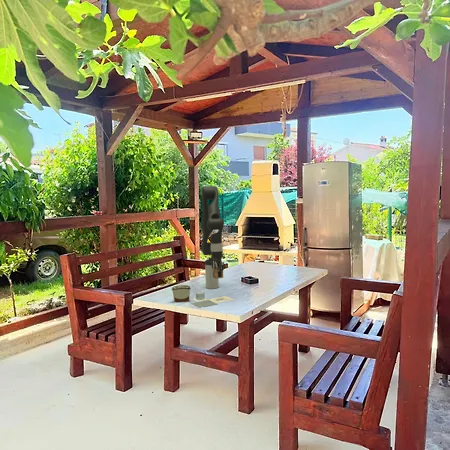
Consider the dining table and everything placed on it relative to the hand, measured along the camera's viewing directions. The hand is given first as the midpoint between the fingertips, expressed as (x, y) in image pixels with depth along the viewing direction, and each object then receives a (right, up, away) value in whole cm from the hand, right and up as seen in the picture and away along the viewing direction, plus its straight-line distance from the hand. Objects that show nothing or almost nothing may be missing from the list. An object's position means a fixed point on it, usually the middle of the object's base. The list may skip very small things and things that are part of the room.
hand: (217, 276), depth 245 cm
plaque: (-11, -16, +4) cm, 20 cm away
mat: (-8, -16, -8) cm, 20 cm away
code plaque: (+1, -15, +1) cm, 15 cm away
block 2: (0, -1, 0) cm, 1 cm away
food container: (-23, -17, +2) cm, 28 cm away
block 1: (-12, -15, +4) cm, 20 cm away
